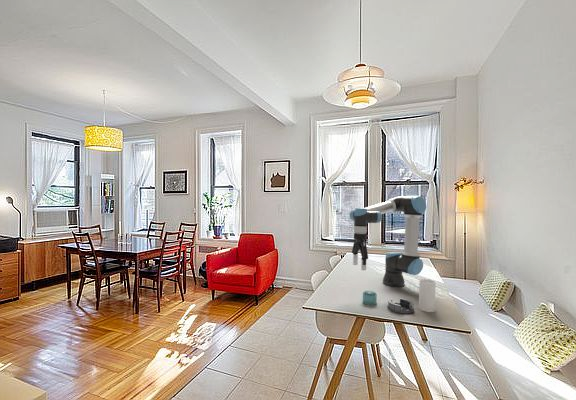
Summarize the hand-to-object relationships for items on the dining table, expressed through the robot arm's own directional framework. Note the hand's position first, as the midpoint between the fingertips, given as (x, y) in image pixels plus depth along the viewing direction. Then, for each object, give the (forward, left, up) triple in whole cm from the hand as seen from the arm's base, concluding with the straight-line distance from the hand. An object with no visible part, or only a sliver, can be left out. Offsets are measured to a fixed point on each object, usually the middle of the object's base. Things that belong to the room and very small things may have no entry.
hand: (359, 267), depth 176 cm
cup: (-32, +20, -20) cm, 43 cm away
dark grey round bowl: (-17, +18, -20) cm, 32 cm away
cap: (-4, +6, -20) cm, 21 cm away
